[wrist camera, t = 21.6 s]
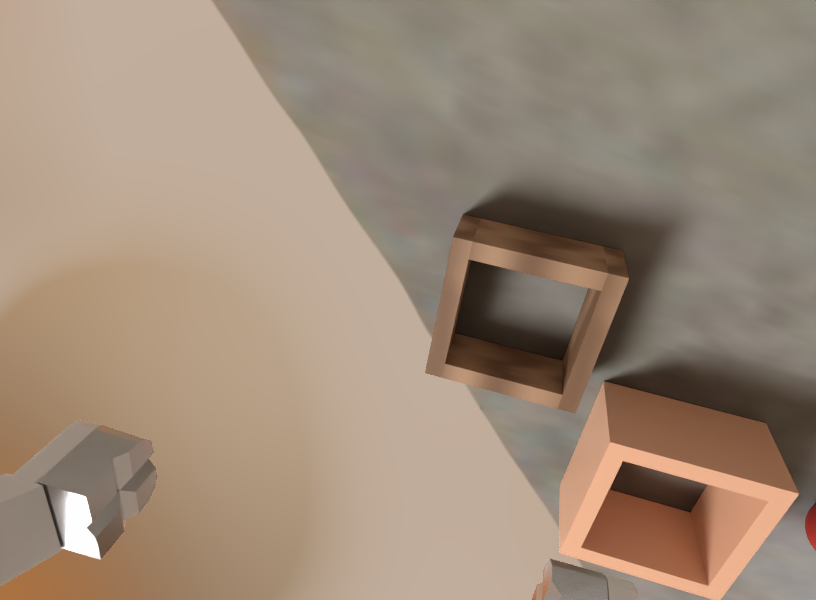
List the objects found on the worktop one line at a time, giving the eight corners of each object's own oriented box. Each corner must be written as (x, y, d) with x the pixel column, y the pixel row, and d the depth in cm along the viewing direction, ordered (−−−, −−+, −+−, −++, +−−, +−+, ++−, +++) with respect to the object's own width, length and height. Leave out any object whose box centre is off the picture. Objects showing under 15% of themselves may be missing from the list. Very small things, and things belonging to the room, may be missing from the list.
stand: (766, 423, 48) (799, 493, 42) (699, 526, 56) (718, 601, 49) (603, 381, 50) (610, 442, 43) (559, 486, 57) (559, 553, 51)
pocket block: (622, 250, 44) (629, 278, 40) (574, 378, 51) (575, 413, 47) (463, 214, 46) (453, 237, 42) (436, 342, 53) (425, 372, 48)
